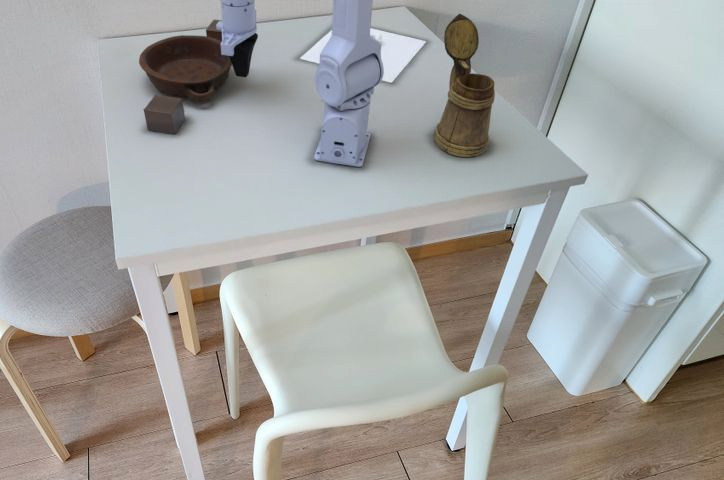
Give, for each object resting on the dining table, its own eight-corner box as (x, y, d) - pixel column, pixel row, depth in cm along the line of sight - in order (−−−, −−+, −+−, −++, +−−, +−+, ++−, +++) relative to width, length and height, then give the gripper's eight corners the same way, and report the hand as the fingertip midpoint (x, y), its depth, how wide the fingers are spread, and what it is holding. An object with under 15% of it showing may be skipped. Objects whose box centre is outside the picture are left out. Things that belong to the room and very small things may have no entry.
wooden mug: (460, 110, 107) (484, 9, 93) (497, 153, 98) (530, 48, 85) (414, 117, 105) (433, 15, 92) (448, 161, 96) (474, 55, 83)
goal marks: (174, 134, 100) (171, 113, 97) (147, 130, 101) (143, 109, 98) (238, 41, 124) (236, 22, 121) (215, 38, 125) (213, 19, 122)
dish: (155, 118, 104) (150, 92, 100) (134, 61, 117) (129, 36, 114) (250, 101, 108) (248, 76, 104) (219, 48, 122) (217, 24, 118)
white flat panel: (384, 41, 125) (387, 21, 122) (370, 56, 120) (372, 36, 117) (347, 31, 127) (348, 12, 124) (331, 46, 123) (332, 27, 120)
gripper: (228, -19, 105) (233, 54, 115) (200, 15, 95) (208, 91, 105) (266, -15, 104) (268, 59, 114) (242, 20, 94) (246, 97, 104)
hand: (242, 75), depth 109 cm, fingers closed, pressing on dish
